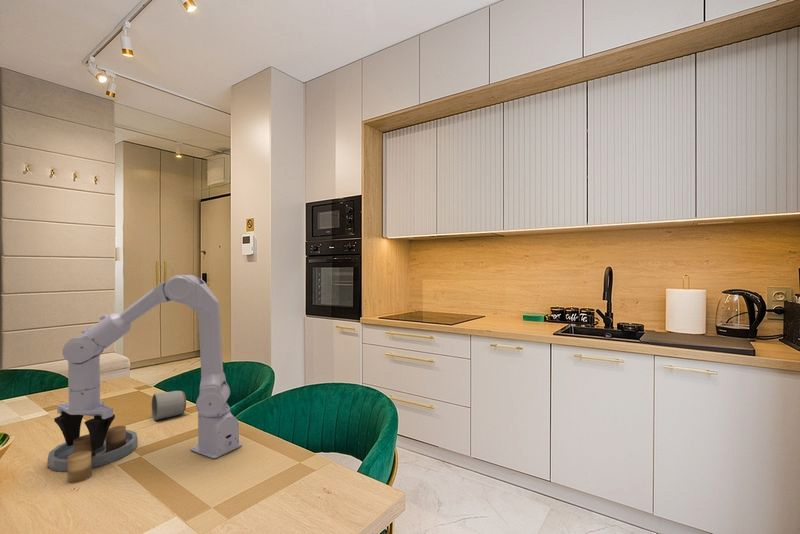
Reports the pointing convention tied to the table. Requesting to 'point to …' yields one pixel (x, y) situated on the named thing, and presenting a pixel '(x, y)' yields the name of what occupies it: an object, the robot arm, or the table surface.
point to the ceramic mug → (168, 404)
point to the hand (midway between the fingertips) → (85, 446)
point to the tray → (62, 451)
